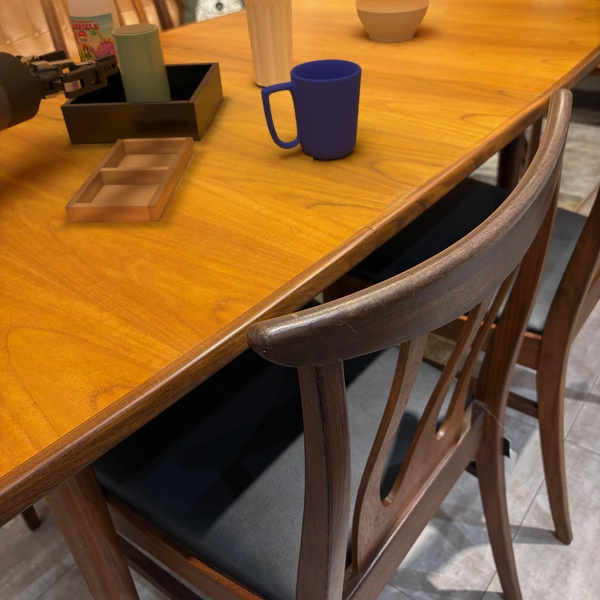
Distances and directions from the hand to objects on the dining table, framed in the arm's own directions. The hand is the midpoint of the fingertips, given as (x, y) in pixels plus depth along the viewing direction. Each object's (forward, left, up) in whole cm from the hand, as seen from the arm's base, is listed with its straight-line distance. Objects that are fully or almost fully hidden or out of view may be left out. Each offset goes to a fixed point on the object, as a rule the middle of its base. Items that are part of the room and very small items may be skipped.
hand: (89, 60), depth 77 cm
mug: (+28, -6, -11) cm, 31 cm away
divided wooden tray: (+8, -14, -11) cm, 20 cm away
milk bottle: (-10, +29, -11) cm, 32 cm away
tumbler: (+4, +7, -10) cm, 13 cm away
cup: (+20, +23, -11) cm, 32 cm away
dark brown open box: (+4, +7, -11) cm, 13 cm away
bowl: (+40, +50, -11) cm, 65 cm away
